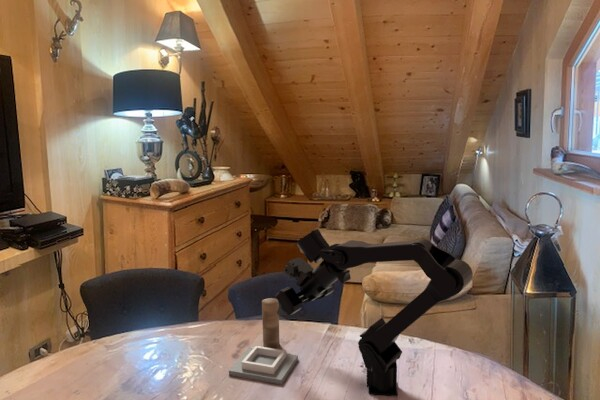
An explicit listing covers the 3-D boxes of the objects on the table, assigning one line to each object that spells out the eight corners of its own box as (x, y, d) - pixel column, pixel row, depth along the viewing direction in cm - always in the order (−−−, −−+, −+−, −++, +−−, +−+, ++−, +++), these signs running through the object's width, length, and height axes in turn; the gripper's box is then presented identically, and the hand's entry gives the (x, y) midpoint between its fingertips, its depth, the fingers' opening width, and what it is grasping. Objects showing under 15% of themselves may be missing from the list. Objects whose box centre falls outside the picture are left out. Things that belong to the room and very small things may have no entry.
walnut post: (282, 344, 126) (281, 300, 124) (272, 350, 123) (270, 306, 121) (270, 339, 129) (269, 296, 127) (259, 345, 126) (258, 302, 123)
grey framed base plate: (297, 359, 118) (297, 348, 117) (281, 384, 107) (281, 373, 106) (249, 351, 122) (249, 341, 122) (229, 374, 111) (228, 363, 111)
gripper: (325, 242, 121) (294, 273, 129) (280, 259, 106) (248, 293, 115) (350, 276, 117) (316, 306, 126) (307, 298, 103) (272, 330, 111)
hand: (289, 307), depth 120 cm, fingers open, 9 cm apart
